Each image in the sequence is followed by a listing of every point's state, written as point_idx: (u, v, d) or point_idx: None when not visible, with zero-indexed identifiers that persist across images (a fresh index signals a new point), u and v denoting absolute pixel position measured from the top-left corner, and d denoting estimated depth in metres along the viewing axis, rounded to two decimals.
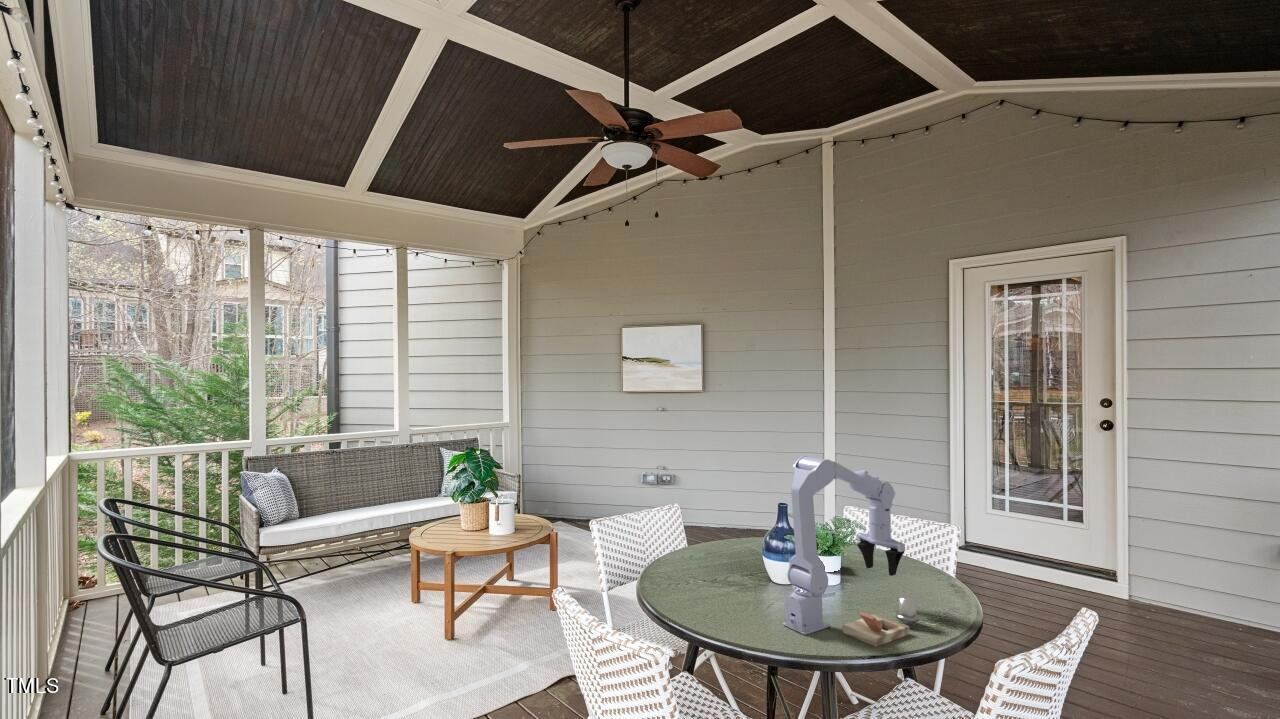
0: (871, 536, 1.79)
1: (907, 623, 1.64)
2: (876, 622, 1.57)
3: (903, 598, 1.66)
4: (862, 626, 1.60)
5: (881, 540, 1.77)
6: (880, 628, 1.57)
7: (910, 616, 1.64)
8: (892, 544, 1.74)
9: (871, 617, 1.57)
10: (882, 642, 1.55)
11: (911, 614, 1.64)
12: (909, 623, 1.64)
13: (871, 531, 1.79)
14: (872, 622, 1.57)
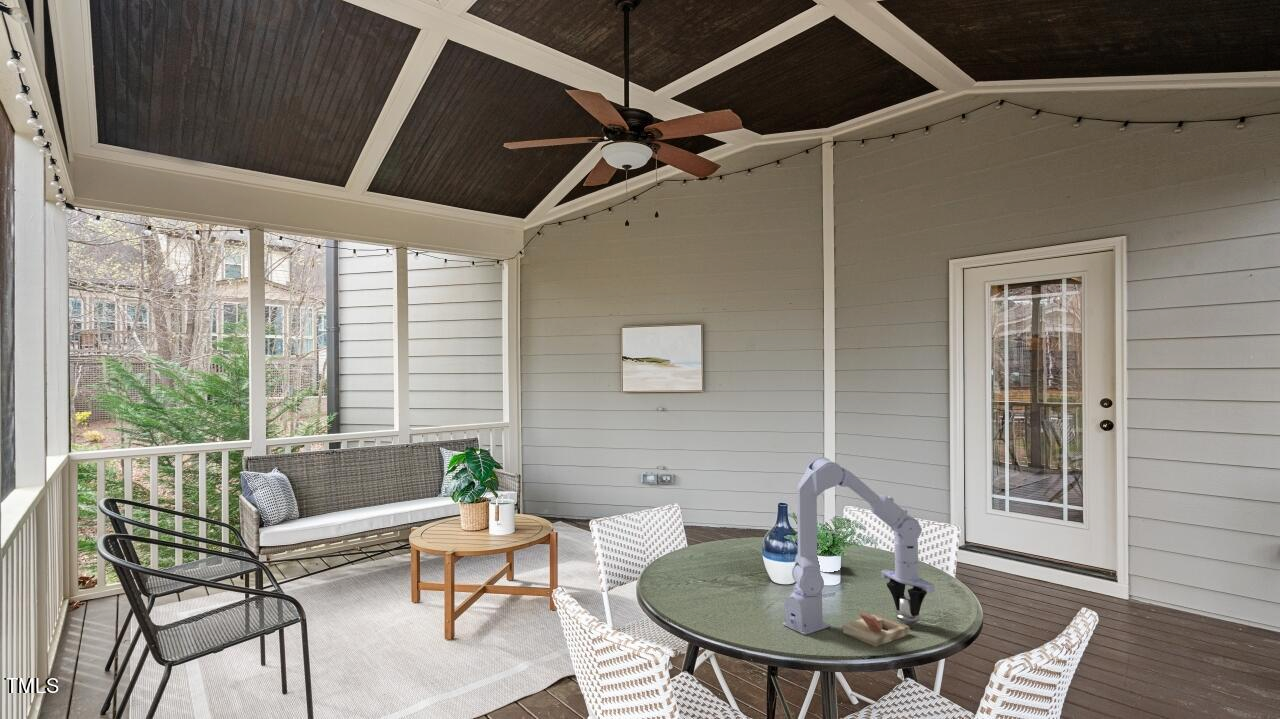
0: (897, 575, 1.66)
1: (907, 623, 1.64)
2: (876, 622, 1.57)
3: (903, 598, 1.66)
4: (862, 626, 1.60)
5: (908, 579, 1.64)
6: (880, 628, 1.57)
7: (910, 616, 1.64)
8: (920, 584, 1.61)
9: (871, 617, 1.57)
10: (882, 642, 1.55)
11: None
12: (909, 623, 1.64)
13: (897, 569, 1.66)
14: (872, 622, 1.57)
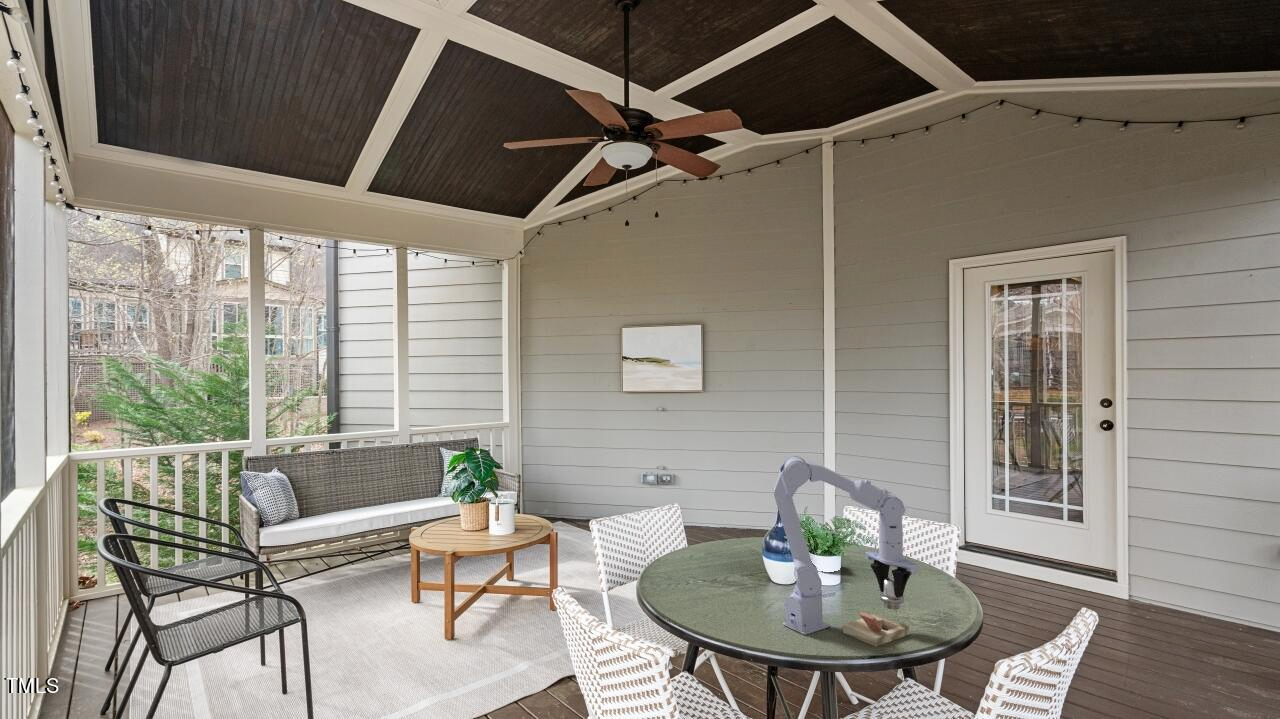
0: (881, 555, 1.63)
1: (891, 605, 1.61)
2: (876, 622, 1.57)
3: (887, 579, 1.63)
4: (862, 626, 1.60)
5: (892, 560, 1.61)
6: (880, 628, 1.57)
7: (894, 597, 1.61)
8: (904, 565, 1.58)
9: (871, 617, 1.57)
10: (882, 642, 1.55)
11: None
12: (893, 605, 1.61)
13: (881, 550, 1.63)
14: (872, 622, 1.57)
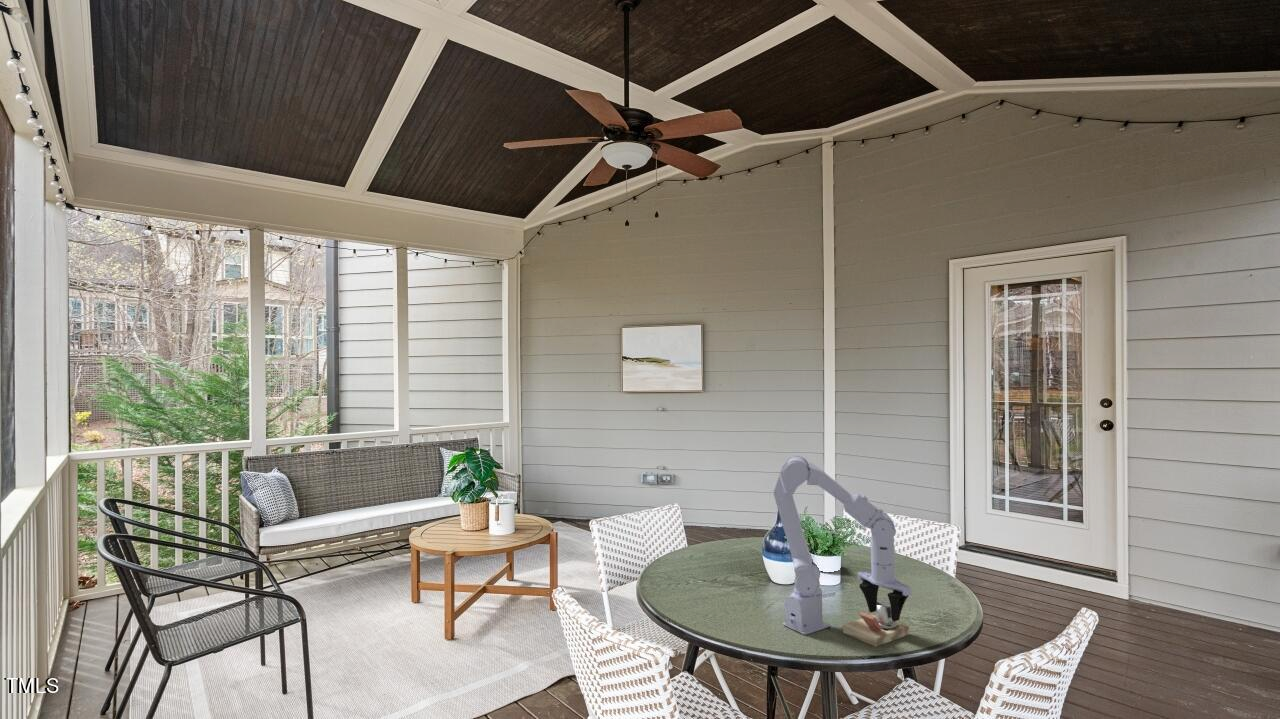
0: (873, 577, 1.61)
1: None
2: (876, 622, 1.57)
3: (880, 604, 1.61)
4: (862, 626, 1.60)
5: (884, 582, 1.59)
6: (880, 628, 1.57)
7: (887, 623, 1.59)
8: (896, 587, 1.56)
9: (871, 617, 1.57)
10: (882, 642, 1.55)
11: (888, 621, 1.59)
12: (886, 630, 1.59)
13: (873, 571, 1.61)
14: (872, 622, 1.57)
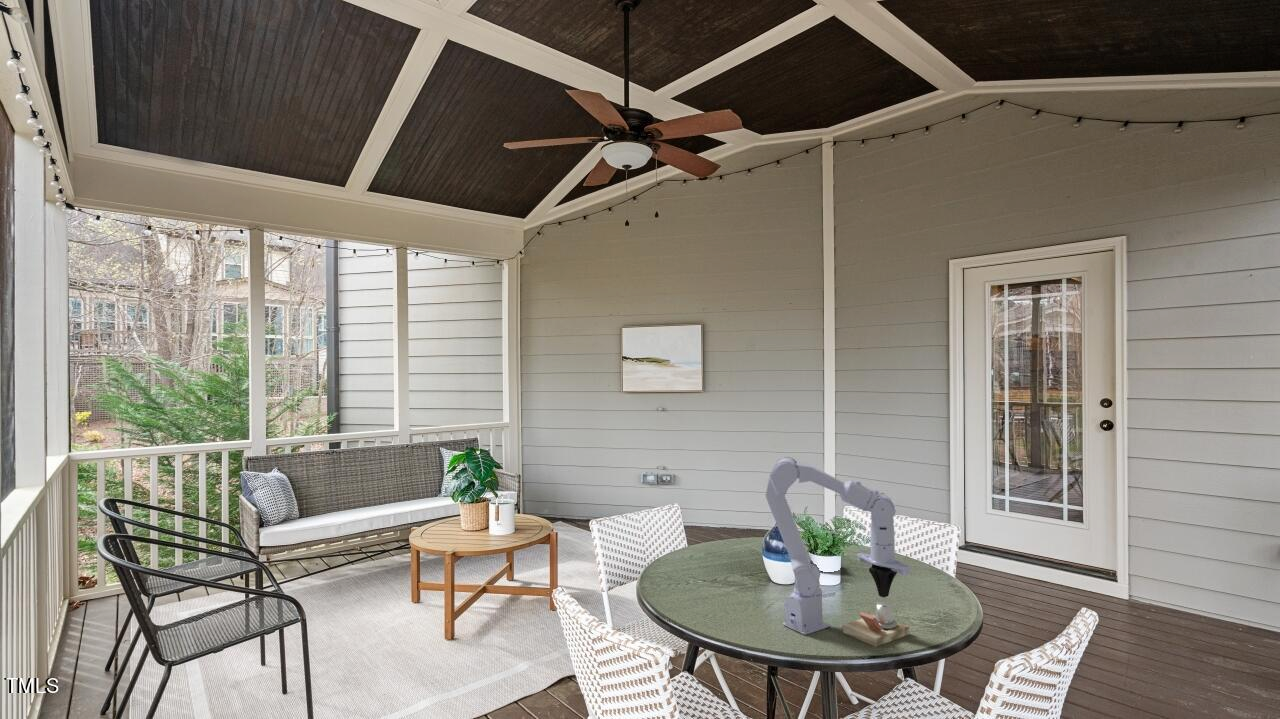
0: (873, 557, 1.61)
1: None
2: (876, 622, 1.57)
3: (880, 604, 1.61)
4: (862, 626, 1.60)
5: (884, 562, 1.59)
6: (880, 628, 1.57)
7: (887, 623, 1.59)
8: (896, 567, 1.56)
9: (871, 617, 1.57)
10: (882, 642, 1.55)
11: (888, 621, 1.59)
12: (886, 630, 1.59)
13: (873, 551, 1.61)
14: (872, 622, 1.57)
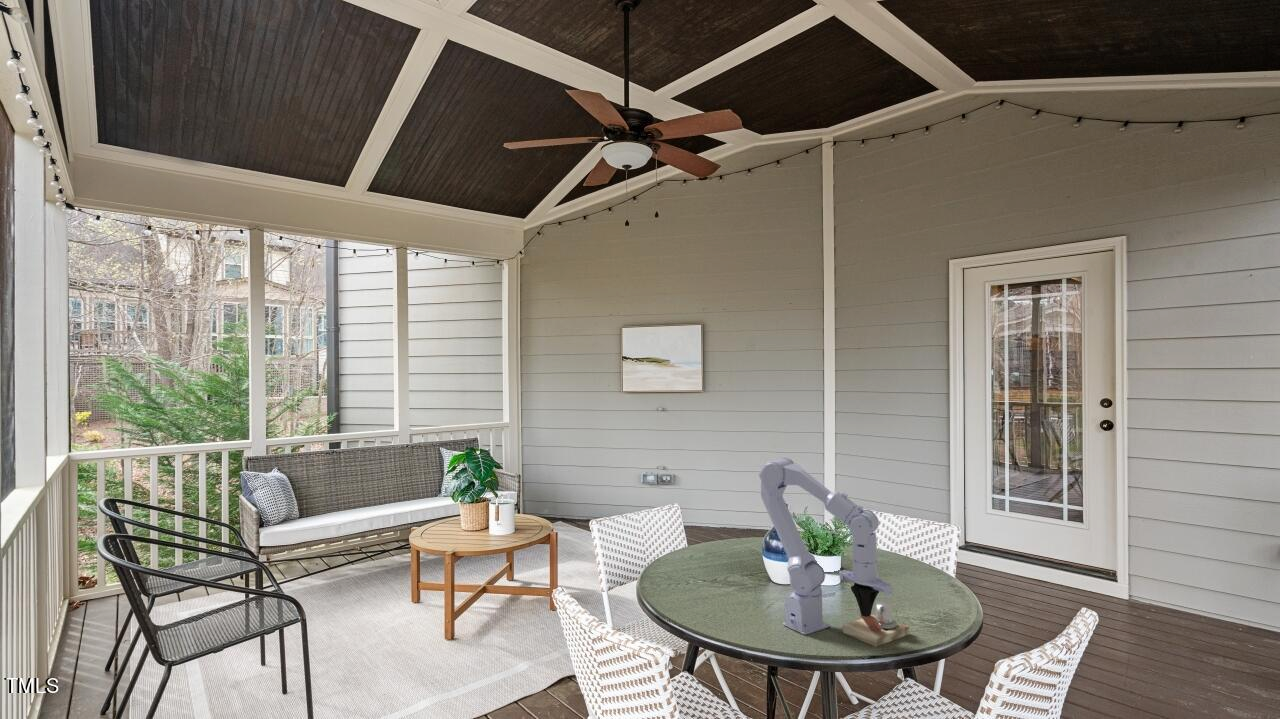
0: (855, 575, 1.57)
1: None
2: (876, 622, 1.57)
3: (880, 604, 1.61)
4: (862, 626, 1.60)
5: (866, 580, 1.55)
6: (880, 628, 1.57)
7: (887, 623, 1.59)
8: (878, 585, 1.53)
9: (871, 617, 1.57)
10: (882, 642, 1.55)
11: (888, 621, 1.59)
12: (886, 630, 1.59)
13: (854, 570, 1.57)
14: (872, 622, 1.57)
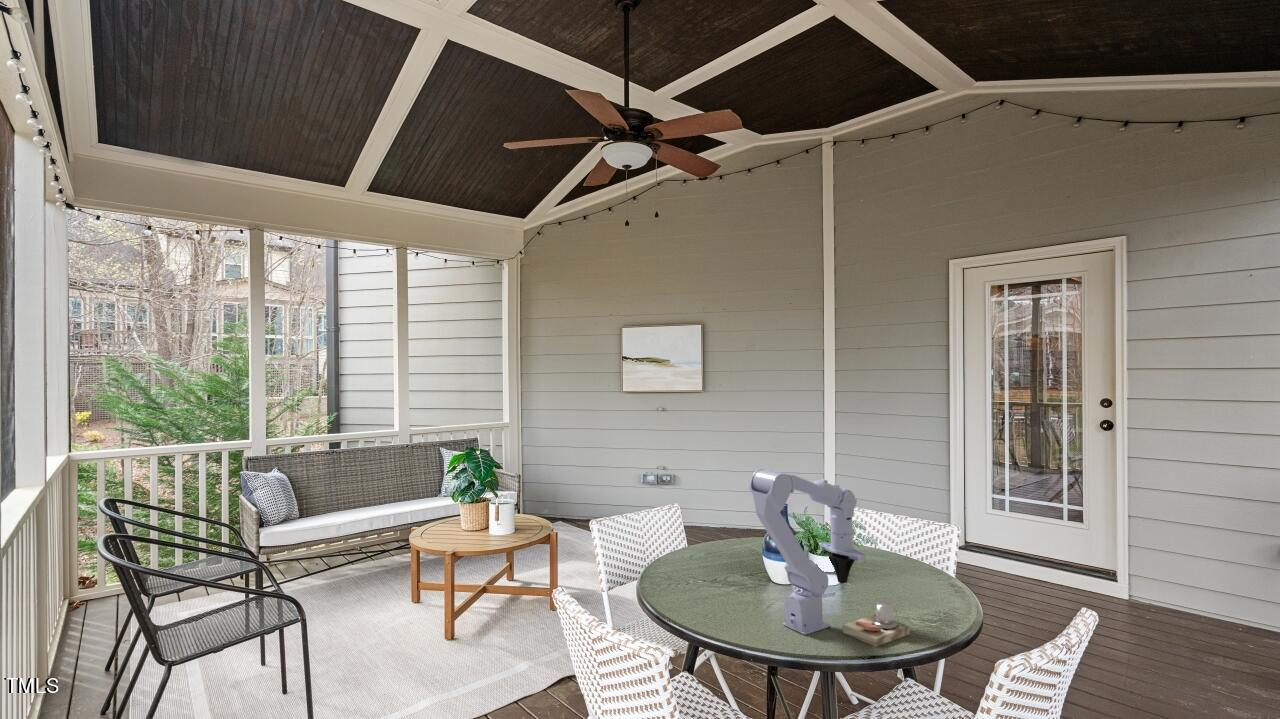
0: (832, 546, 1.72)
1: None
2: (873, 629, 1.56)
3: (880, 604, 1.61)
4: None
5: (842, 550, 1.70)
6: (879, 629, 1.57)
7: (887, 623, 1.59)
8: (852, 554, 1.68)
9: (867, 627, 1.56)
10: (882, 642, 1.55)
11: (888, 621, 1.59)
12: (886, 630, 1.59)
13: (832, 541, 1.72)
14: None
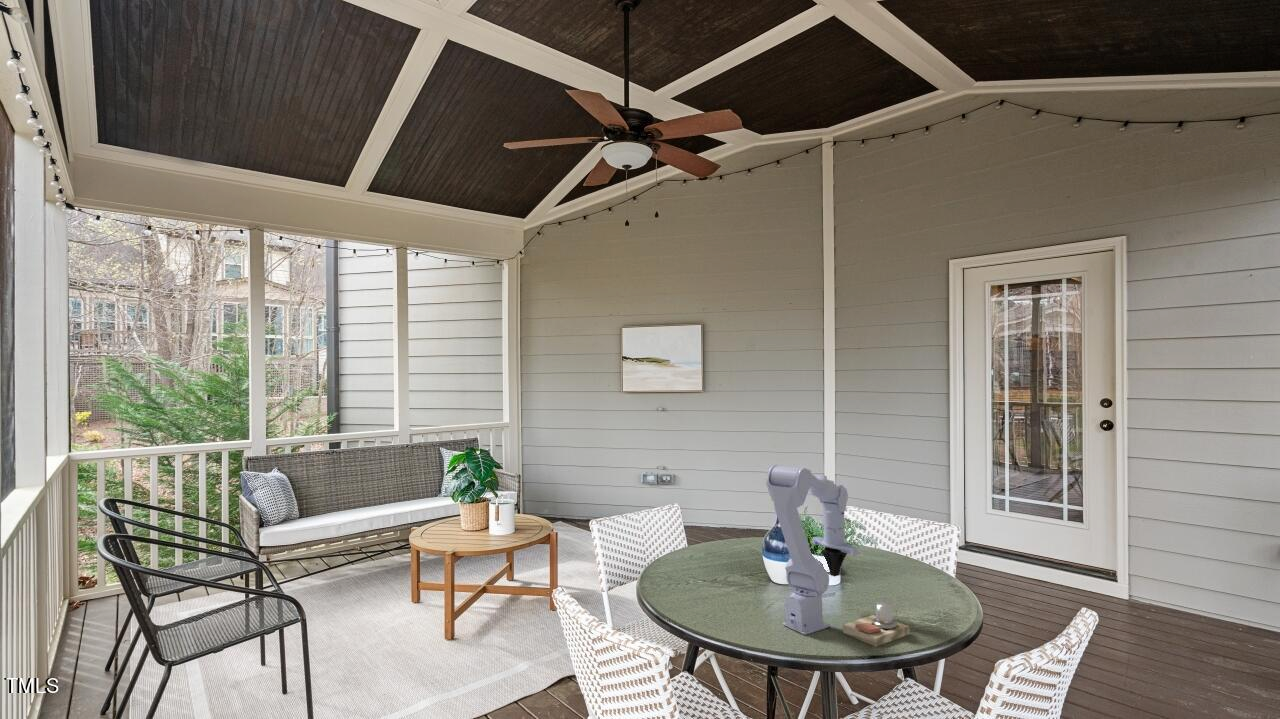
0: (825, 540, 1.77)
1: None
2: (873, 631, 1.56)
3: (880, 604, 1.61)
4: None
5: (834, 544, 1.75)
6: (879, 629, 1.57)
7: (887, 623, 1.59)
8: (845, 548, 1.73)
9: (866, 630, 1.56)
10: (882, 642, 1.55)
11: (888, 621, 1.59)
12: (886, 630, 1.59)
13: (825, 535, 1.77)
14: None
